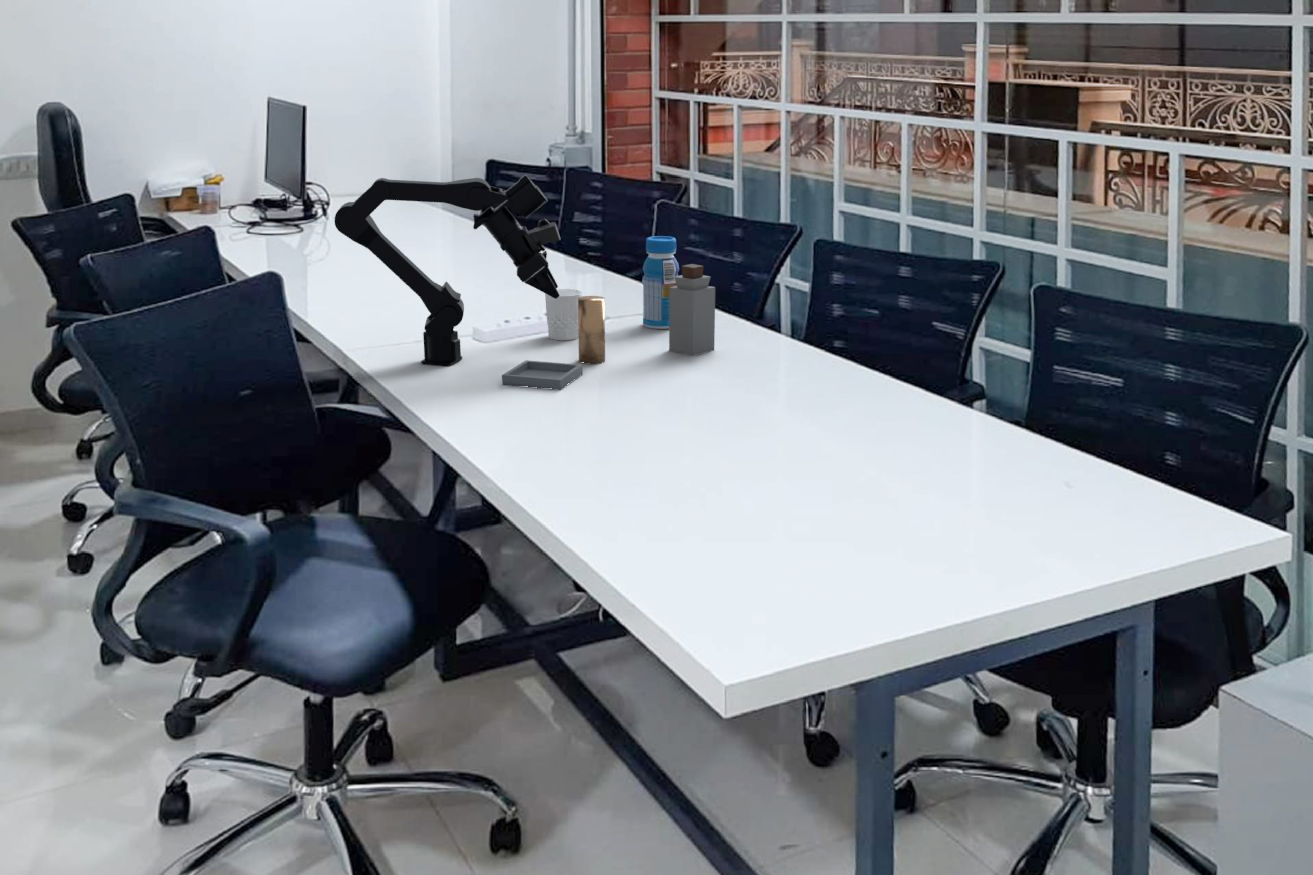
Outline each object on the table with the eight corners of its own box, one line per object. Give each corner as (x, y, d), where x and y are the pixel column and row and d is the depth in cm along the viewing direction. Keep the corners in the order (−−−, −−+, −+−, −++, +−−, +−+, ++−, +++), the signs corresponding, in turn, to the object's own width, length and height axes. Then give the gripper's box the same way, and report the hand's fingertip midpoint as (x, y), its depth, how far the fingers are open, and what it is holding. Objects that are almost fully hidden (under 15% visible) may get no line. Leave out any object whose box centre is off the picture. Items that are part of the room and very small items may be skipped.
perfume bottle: (714, 350, 292) (715, 265, 287) (692, 355, 288) (693, 270, 282) (690, 345, 297) (691, 261, 291) (669, 350, 292) (669, 266, 287)
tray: (502, 385, 265) (501, 375, 265) (526, 370, 276) (525, 360, 276) (560, 390, 262) (560, 380, 261) (582, 374, 273) (582, 364, 272)
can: (575, 363, 282) (573, 300, 278) (584, 356, 287) (583, 295, 283) (599, 365, 280) (599, 302, 276) (608, 358, 285) (608, 296, 281)
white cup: (563, 331, 309) (562, 287, 306) (589, 336, 304) (588, 291, 301) (538, 337, 303) (537, 292, 300) (565, 343, 298) (564, 297, 295)
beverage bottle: (639, 329, 311) (639, 240, 305) (645, 321, 319) (645, 234, 313) (676, 330, 310) (676, 241, 304) (682, 322, 318) (682, 235, 311)
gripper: (540, 214, 266) (590, 277, 271) (538, 201, 284) (585, 260, 289) (495, 250, 268) (546, 311, 272) (496, 234, 285) (544, 293, 290)
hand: (557, 292), depth 281 cm, fingers open, 9 cm apart
